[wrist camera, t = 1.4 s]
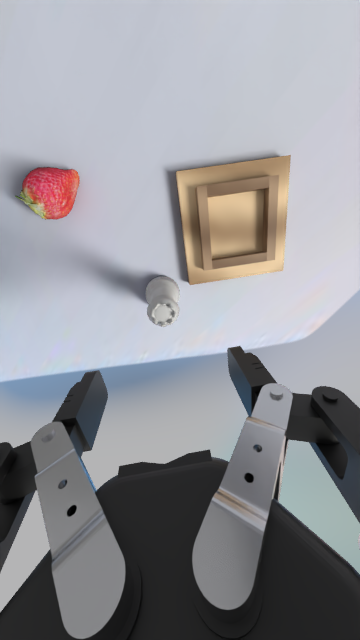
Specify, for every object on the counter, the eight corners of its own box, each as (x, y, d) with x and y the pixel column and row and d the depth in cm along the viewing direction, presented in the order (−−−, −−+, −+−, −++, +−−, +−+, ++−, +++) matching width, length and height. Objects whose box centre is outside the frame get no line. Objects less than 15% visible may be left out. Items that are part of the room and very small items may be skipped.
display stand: (175, 174, 23) (177, 168, 20) (284, 158, 23) (297, 151, 21) (188, 282, 28) (191, 287, 25) (278, 268, 28) (288, 272, 26)
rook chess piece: (168, 268, 27) (171, 284, 19) (185, 297, 28) (194, 321, 21) (138, 286, 27) (130, 308, 20) (157, 314, 29) (156, 342, 22)
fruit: (97, 196, 23) (81, 188, 18) (57, 230, 24) (33, 230, 19) (67, 156, 21) (42, 137, 17) (26, 194, 22) (-9, 185, 18)
